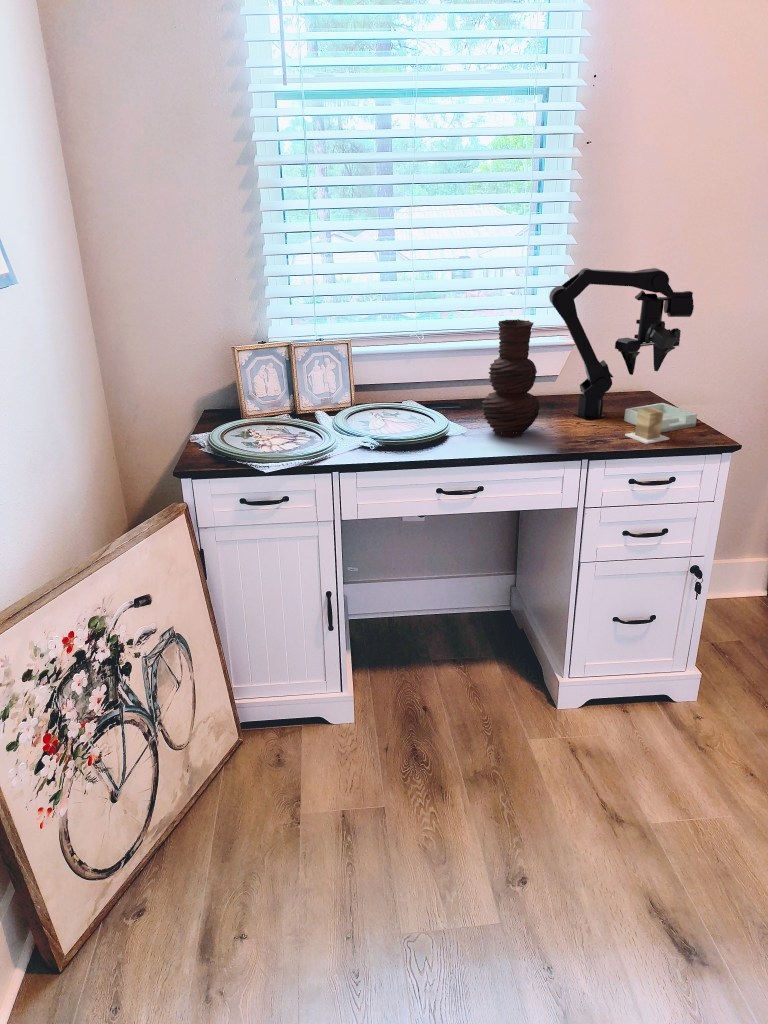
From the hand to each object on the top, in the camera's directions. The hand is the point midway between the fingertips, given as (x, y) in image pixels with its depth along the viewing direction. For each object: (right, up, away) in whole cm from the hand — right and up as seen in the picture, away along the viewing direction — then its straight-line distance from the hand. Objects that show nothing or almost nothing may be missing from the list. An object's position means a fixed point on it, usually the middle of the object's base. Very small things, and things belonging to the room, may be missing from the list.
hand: (643, 372), depth 214 cm
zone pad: (-3, -19, -12) cm, 23 cm away
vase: (-40, -18, -8) cm, 44 cm away
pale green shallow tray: (+4, -14, -1) cm, 15 cm away
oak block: (-3, -19, -12) cm, 23 cm away
